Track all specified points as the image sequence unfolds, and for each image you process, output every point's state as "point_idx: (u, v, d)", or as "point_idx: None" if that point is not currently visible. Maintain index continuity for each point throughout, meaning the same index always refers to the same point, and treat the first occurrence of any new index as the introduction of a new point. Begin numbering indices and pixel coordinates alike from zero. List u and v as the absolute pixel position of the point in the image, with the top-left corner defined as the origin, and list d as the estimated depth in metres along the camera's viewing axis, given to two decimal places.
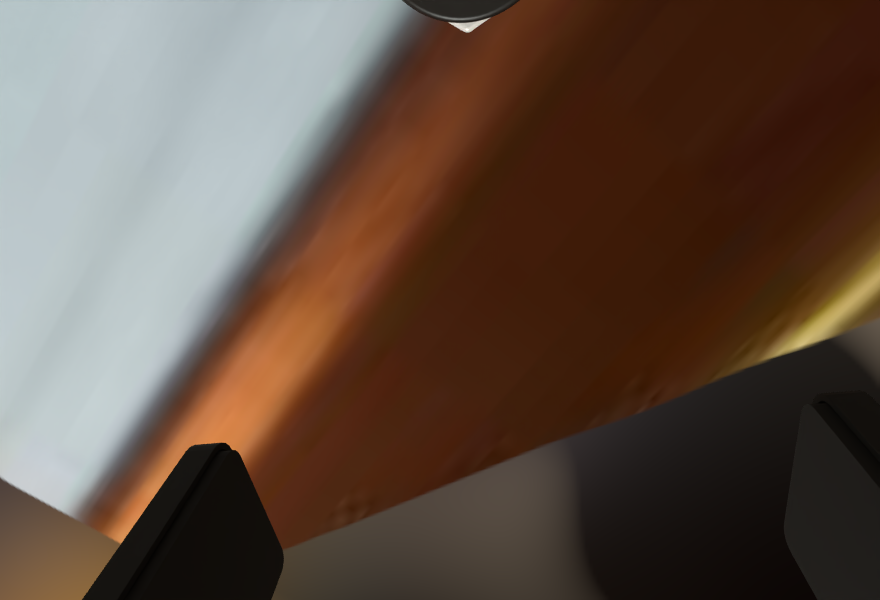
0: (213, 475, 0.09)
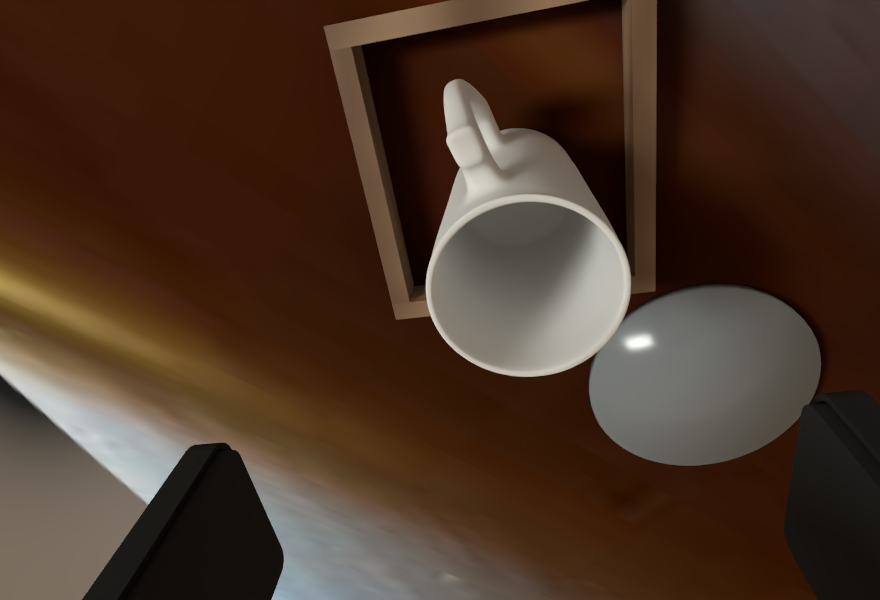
0: (213, 475, 0.09)
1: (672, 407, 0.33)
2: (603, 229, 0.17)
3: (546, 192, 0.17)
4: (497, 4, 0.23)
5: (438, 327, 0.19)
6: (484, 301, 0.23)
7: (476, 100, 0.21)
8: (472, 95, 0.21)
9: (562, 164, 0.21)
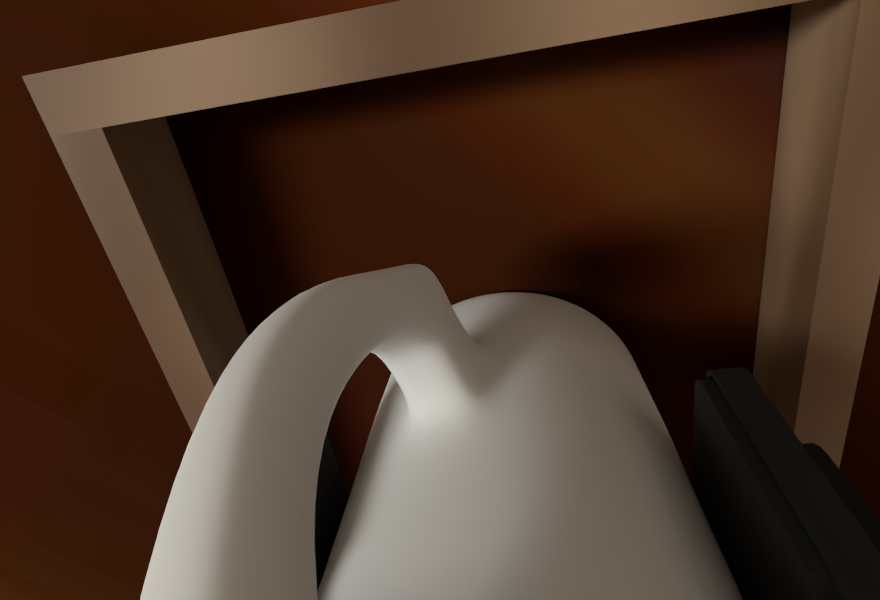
0: None
1: None
2: None
3: None
4: (474, 24, 0.08)
5: None
6: None
7: (388, 330, 0.07)
8: (364, 337, 0.06)
9: (662, 544, 0.07)
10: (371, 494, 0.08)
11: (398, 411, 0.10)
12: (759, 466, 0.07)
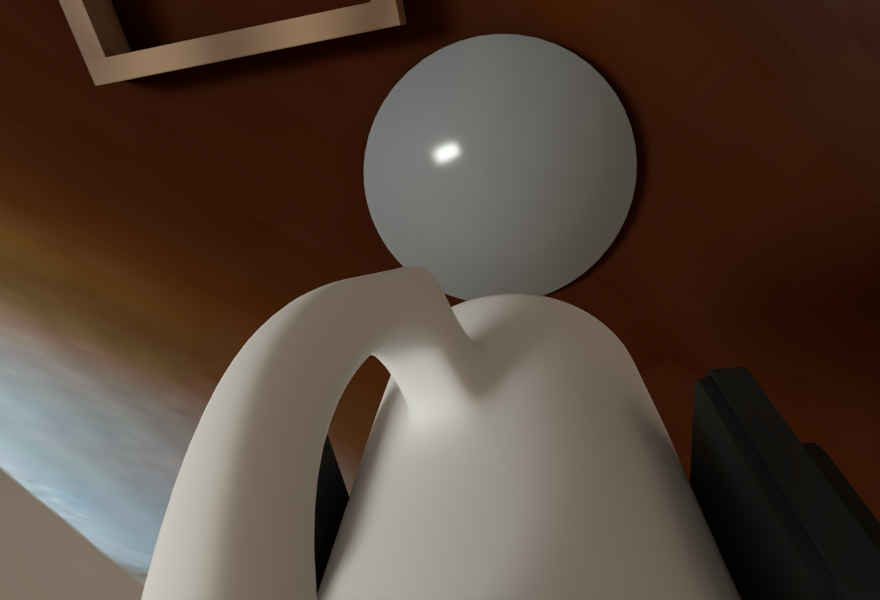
0: None
1: (468, 219, 0.27)
2: None
3: None
4: None
5: None
6: None
7: (387, 333, 0.07)
8: (364, 340, 0.06)
9: (662, 547, 0.07)
10: (371, 497, 0.08)
11: (398, 413, 0.10)
12: (758, 466, 0.07)
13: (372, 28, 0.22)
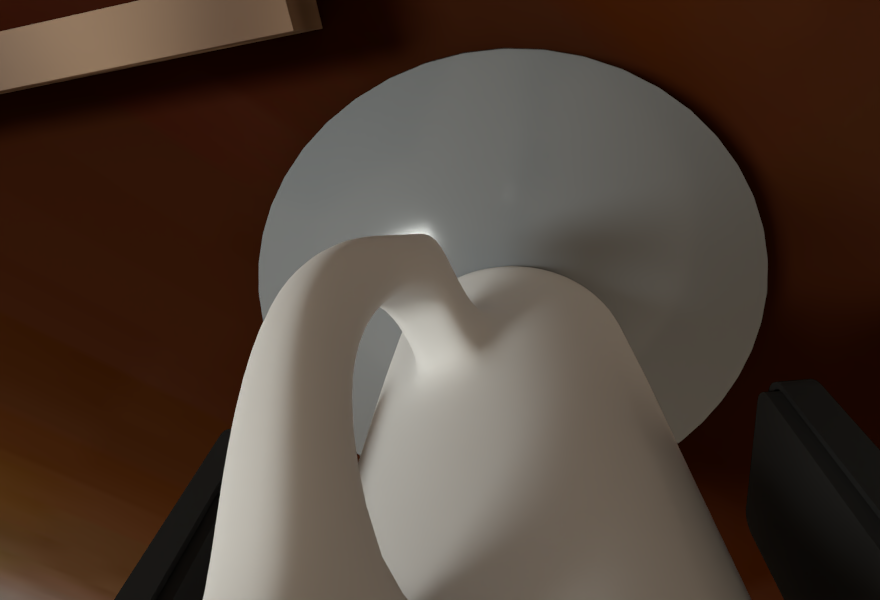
0: None
1: None
2: None
3: None
4: None
5: None
6: None
7: (401, 283, 0.08)
8: (383, 285, 0.07)
9: (639, 462, 0.08)
10: (385, 436, 0.09)
11: (407, 369, 0.11)
12: (848, 490, 0.06)
13: (235, 38, 0.10)
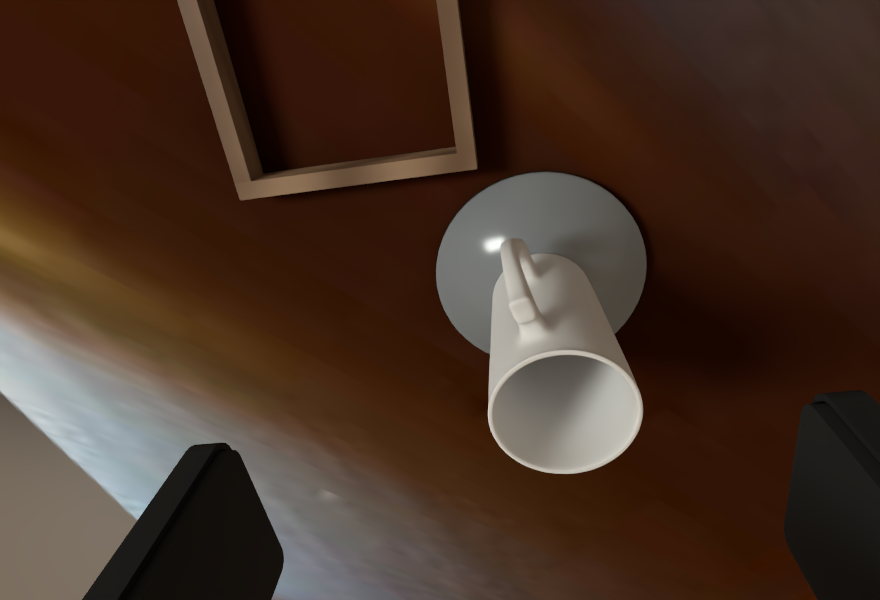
0: (213, 475, 0.09)
1: None
2: (623, 375, 0.23)
3: (582, 347, 0.23)
4: None
5: (495, 437, 0.25)
6: (522, 403, 0.29)
7: (521, 251, 0.28)
8: (519, 251, 0.27)
9: (587, 303, 0.28)
10: (509, 302, 0.29)
11: None
12: None
13: (456, 170, 0.30)
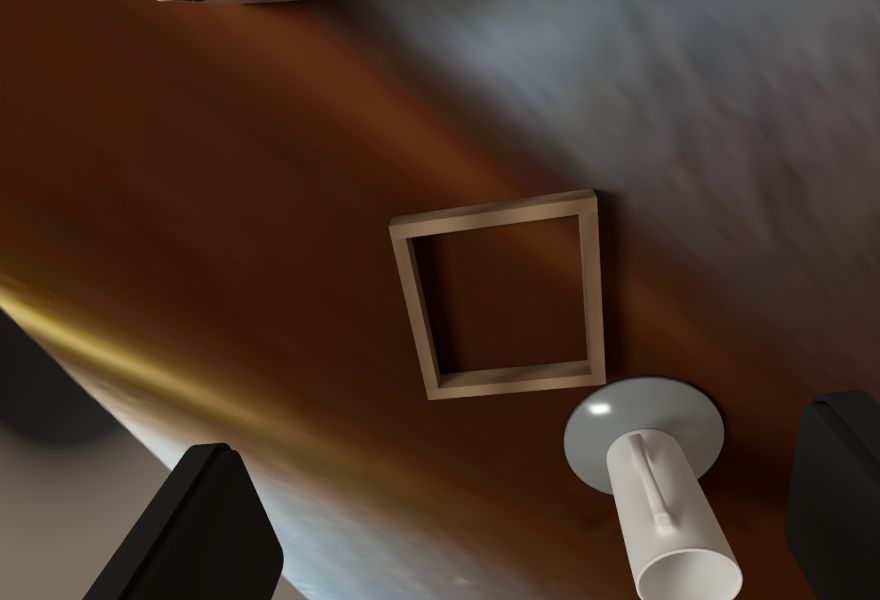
0: (213, 475, 0.09)
1: None
2: (731, 563, 0.35)
3: (703, 544, 0.35)
4: (499, 217, 0.37)
5: (639, 595, 0.37)
6: None
7: None
8: (646, 457, 0.39)
9: (693, 490, 0.39)
10: (633, 483, 0.41)
11: (629, 464, 0.43)
12: None
13: (590, 384, 0.42)
